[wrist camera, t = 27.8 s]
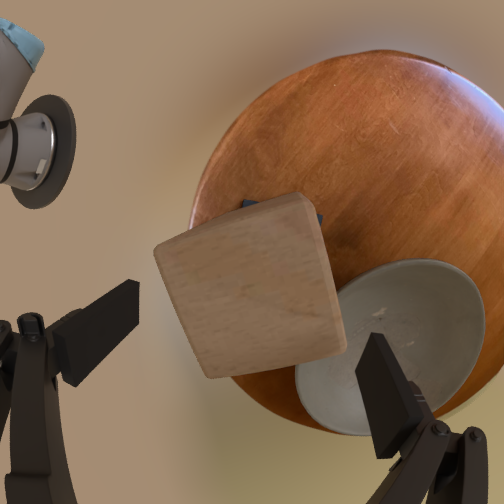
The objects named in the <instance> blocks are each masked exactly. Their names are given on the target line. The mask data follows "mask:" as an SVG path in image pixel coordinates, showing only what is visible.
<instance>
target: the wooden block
mask: <svg viewBox="0 0 504 504" xmlns="http://www.w3.org/2000/svg"><path fill="white" fill-rule="evenodd" d="M154 257H155V260H156V263H157V266H158V268H159V271H160V274H161V276H162V279H163V281H164V284H165V286H166V289H167V291H168V294H169V296H170V299H171V301H172V304H173V306H174V309H175V311H176V313H177V316H178V318H179V320H180V323H181V325H182V327H183V329H184V332H185V334H186V336H187V338H188V341H189V343H190V345H191V347H192V349H193V351H194V354H195V356H196V358H197V360H198V362H199V364H200V366H201V368H202V370H203V372H204V374H205V376H206V377H207V378H210V379H214V378H222V377H230V376H237V375H244V374H250V373H256V372H262V371H267V370H273V369H278V368H283V367H288V366H293V365H298V364H302V363H307V362H311V361H315V360H320V359H324V358H328V357H332V356H336V355H339V354H342V353H344V352H345V351H346V348H347V340H346V335H345V330H344V325H343V320H342V315H341V311H340V306H339V302H338V297H337V293H336V288H335V284H334V280H333V276H332V271H331V267H330V263H329V259H328V255H327V252H326V248H325V244H324V240H323V236H322V233H321V229H320V225H319V222H318V218H317V215H316V211H315V208H314V205H313V204H312V203H311V201H310V200H309V199H307V198H306V197H305V196H304V195H302V194H301V193H300V192H293V193H290V194H286V195H283V196H280V197H276V198H273V199H270V200H266V201H263V202H260V203H257V204H253V205H250V206H247V207H244V208H241V209H237V210H234V211H231V212H228V213H225V214H223V215H221V216H219V217H216V218H214V219H212V220H210V221H208V222H205V223H203V224H201V225H199V226H197V227H195V228H192V229H190V230H188V231H186V232H184V233H182V234H180V235H178V236H175V237H173V238H171V239H169V240H167V241H165V242H163V243H161V244H159V245H157V246H156V247H155V249H154Z"/></svg>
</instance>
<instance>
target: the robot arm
mask: <svg viewBox="0 0 504 504" xmlns="http://www.w3.org/2000/svg"><path fill="white" fill-rule="evenodd" d="M43 52H44V44H43V42H42V41H41V40H39V39H38V38H37V37H35V36H34V35H32V34H31V33H29V32H28V31H26V30H24V29H23V28H21V27H19V26H17V25H15V24H13V23H11V22H10V21H8V20H6V19H3V18H0V183H4V184H7V185H10V186H13V187H16V188H19V189H21V190H34V189H37V188H39V187H40V186H41V185H43V183H44V182H45V181H46V180H47V178H48V176H49V175H50V173H51V170H52V168H53V165H54V162H55V158H56V153H57V144H58V137H57V129H56V125H55V123H54V121H53V119H52V118H51V117H50V116H49V115H48V114H45V113H39V112H36V113H31V114H27V115H24V116H20V117H17V118H14V119H11V117H12V115H13V113H14V110H15V107H16V106H17V104H18V101H19V99H20V97H21V95H22V93H23V91H24V89H25V87H26V85H27V83H28V81H29V79H30V77H31V75H32V73H34V72H35V68H36V66H37V64H38V62H39V60H40V58H41V56H42V55H43ZM139 284H140V282H137V281H134V280H130V279H128V280H126V281H125V282H123V283H122V284H120V285H118V286H117V287H115V288H114V289H112V290H111V291H109V292H108V293H106V294H105V295H103V296H102V297H100V298H99V299H97V300H96V301H94V302H93V303H91V304H90V305H89V306H87V307H86V308H84V309H76V310H74V311H71V312H69V313H68V314H66V315H65V317H64V316H63V317H62V318H61V319H60V320H58V321H56V322H55V323H53V324H52V325H50V326H49V327H47V328H46V329H45V327H44V322H43V317H42V316H41V315H40V314H38V313H33V312H30V313H25V314H22V315H21V316H19V317H18V319H17V324H18V328H19V332H20V334H19V333H16V332H12V328H11V324H10V323H9V322H8V321H5V320H0V441H1V437H2V434H3V430H4V427H5V423H6V420H7V417H8V414H9V411H10V408H11V413H10V458H11V472H10V473H9V474H6V475H5V491H6V499H7V504H77V501H76V497H75V493H74V490H73V486H72V482H71V478H70V473H69V469H68V464H67V459H66V454H65V448H64V442H63V435H62V428H61V419H60V410H59V397H58V381H57V377H56V375H57V374H58V373H59V372H61V374H62V378H63V381H65V382H66V383H68V384H70V385H72V386H73V387H77V386H78V385H79V384H80V383H81V382H82V381H83V380H84V379H85V378H86V377H87V376H88V374H89V373H90V372H91V371H92V370H93V369H94V368H95V367H96V366H97V365H98V364H99V363H100V362H101V361H102V360H103V359H104V358H105V357H106V356H107V355H108V354H109V353H110V352H111V351H112V350H113V349H114V348H115V347H116V346H117V345H118V344H119V343H120V342H121V341H122V340H123V339H124V338H125V337H126V336H127V335H128V334H129V333H130V332H131V331H132V330H133V329H134V328H135V327H136V326H137V325H138V324H139ZM355 374H356V378H357V382H358V385H359V389H360V392H361V396H362V400H363V404H364V407H365V411H366V415H367V419H368V423H369V427H370V431H371V435H372V439H373V444H374V448H375V453H376V457H377V459H388V458H393V456H394V455H395V454H396V453H397V452H398V451H399V452H400V455H401V457H400V458H399V459H398V461H396V463H395V464H394V465H393V466H392V467H391V468H390V469H389V471H390V472H389V474H388V475H387V477H386V478H385V479H384V481H383V482H382V483H381V485H380V486H379V488H378V489H377V490H376V492H375V493H374V494H373V496H372V497H371V498H370V499H369V500H368V502H367V503H366V504H421V502H422V501H423V499H424V497H425V495H426V493H427V491H428V489H429V491H428V496H427V500H426V504H487V503H488V454H487V440H486V436H485V434H484V432H483V431H482V430H481V429H479V428H477V427H473V426H471V427H468V428H467V429H466V430H465V431H464V433H463V434H459V433H453V432H451V430H450V428H449V426H448V425H446V423H444V422H443V421H440V420H435V418H434V416H433V414H432V412H431V410H430V408H429V406H428V404H427V402H426V400H425V398H424V396H423V394H422V392H421V390H420V388H419V387H418V386H417V385H416V384H415V383H414V382H413V381H408V380H407V378H406V376H405V374H404V372H403V370H402V368H401V366H400V365H399V363H398V361H397V359H396V357H395V355H394V353H393V351H392V349H391V347H390V346H389V344H388V342H387V340H386V338H385V336H384V334H382V333H375V332H371V334H370V336H369V339H368V341H367V343H366V346H365V348H364V351H363V353H362V355H361V358H360V360H359V362H358V365H357V367H356V369H355Z"/></svg>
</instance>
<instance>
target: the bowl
mask: <svg viewBox="0 0 504 504" xmlns="http://www.w3.org/2000/svg"><path fill="white" fill-rule="evenodd" d="M336 293H337V297H338V302H339V306H340V311H341V315H342V320H343V325H344V330H345V335H346V340H347V348H346V351H345V352H344V353H342V354H339V355H336V356H332V357H328V358H324V359H320V360H315V361H311V362H307V363H302V364H298V365H296V367H295V382H296V388H297V392H298V395H299V398H300V400H301V403H302V404H303V406H304V408H305V409H306V411H307V412H308V414H309V415H310V416H311V417H312V418H313V419H314V420H316V421H317V422H318V423H319V424H321V425H322V426H324V427H326V428H328V429H330V430H333V431H336V432H339V433H342V434H347V435H354V436H372V435H371V431H370V427H369V423H368V419H367V415H366V411H365V407H364V404H363V400H362V396H361V392H360V389H359V385H358V382H357V378H356V374H355V369H356V367H357V365H358V362H359V360H360V358H361V355H362V353H363V351H364V348H365V346H366V343H367V341H368V339H369V336H370V334H371V332H375V333H382V334H384V336H385V338H386V340H387V342H388V344H389V346H390V347H391V349H392V351H393V353H394V355H395V357H396V359H397V361H398V363H399V365H400V366H401V368H402V370H403V372H404V374H405V376H406V378H407V380H408V381H413V382H414V383H415V384H416V385H417V386H418V387H419V388H420V390H421V392H422V394H423V396H424V398H425V400H426V402H427V404H428V406H429V408H430V410H431V412H434V411H435V410H437V409H438V408H439V407H441V406H442V405H444V404H445V403H446V402H447V401H448V400H449V399H450V398H451V397H452V396H453V395H454V394H455V393H456V392H457V391H458V390H459V388H460V387H461V386H462V385H463V383H464V382H465V381H466V379H467V378H468V376H469V375H470V373H471V371H472V369H473V368H474V366H475V364H476V361H477V359H478V356H479V354H480V351H481V348H482V344H483V340H484V334H485V312H484V306H483V301H482V298H481V295H480V292H479V290H478V288H477V286H476V285H475V283H474V282H473V281H472V280H471V278H470V277H469V276H468V275H467V274H466V273H464V272H463V271H462V270H460V269H459V268H457V267H455V266H453V265H451V264H449V263H446V262H443V261H440V260H435V259H428V258H409V259H402V260H397V261H392V262H389V263H386V264H383V265H380V266H377V267H375V268H372V269H370V270H368V271H366V272H364V273H362V274H360V275H359V276H357V277H355V278H354V279H352V280H351V281H349V282H348V283H347V284H345V285H344V286H343V287H341V288H340V289H339V290H338V291H337V292H336Z"/></svg>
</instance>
